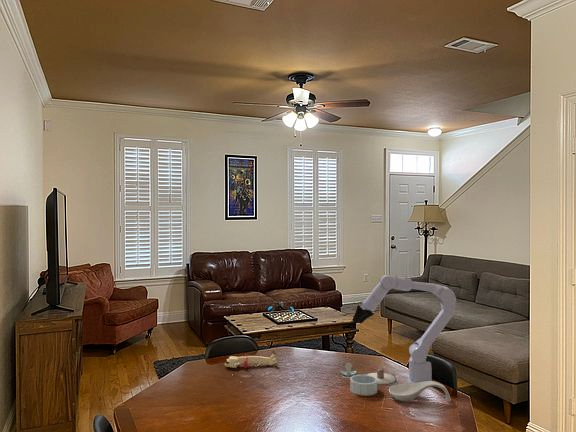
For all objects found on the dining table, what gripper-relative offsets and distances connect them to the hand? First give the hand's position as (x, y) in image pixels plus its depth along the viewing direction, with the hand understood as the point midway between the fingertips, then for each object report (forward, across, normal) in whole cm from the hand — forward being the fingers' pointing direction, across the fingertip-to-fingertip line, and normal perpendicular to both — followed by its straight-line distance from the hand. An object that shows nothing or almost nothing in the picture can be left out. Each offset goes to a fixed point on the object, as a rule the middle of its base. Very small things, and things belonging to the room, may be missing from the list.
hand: (356, 322), depth 208 cm
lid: (+14, -9, +22) cm, 27 cm away
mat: (+14, -9, +22) cm, 28 cm away
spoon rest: (+6, +5, +40) cm, 40 cm away
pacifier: (+23, -8, +11) cm, 26 cm away
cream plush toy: (+51, -2, -27) cm, 58 cm away
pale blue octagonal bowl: (+19, +6, +21) cm, 29 cm away
